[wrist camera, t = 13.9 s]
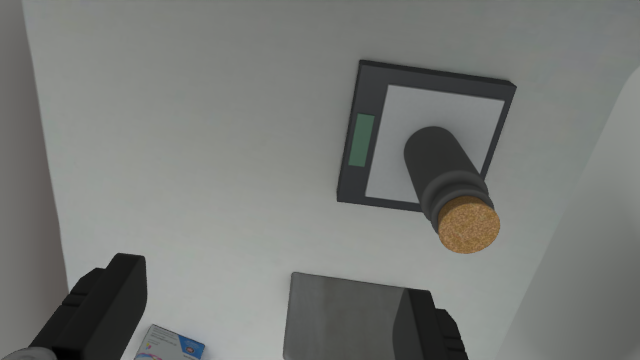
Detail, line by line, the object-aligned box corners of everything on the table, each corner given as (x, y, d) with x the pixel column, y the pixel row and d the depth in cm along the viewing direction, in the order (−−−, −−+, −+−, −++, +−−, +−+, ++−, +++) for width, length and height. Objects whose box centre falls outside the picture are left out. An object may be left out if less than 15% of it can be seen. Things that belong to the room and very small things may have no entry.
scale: (360, 59, 46) (361, 65, 43) (509, 80, 47) (519, 88, 44) (336, 192, 53) (336, 204, 51) (465, 209, 54) (472, 221, 52)
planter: (284, 315, 63) (267, 453, 45) (292, 271, 59) (276, 403, 42) (396, 330, 64) (421, 471, 46) (410, 288, 60) (443, 424, 43)
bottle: (466, 159, 48) (519, 240, 35) (417, 184, 49) (450, 270, 36) (443, 115, 46) (490, 183, 32) (393, 142, 47) (418, 219, 34)
